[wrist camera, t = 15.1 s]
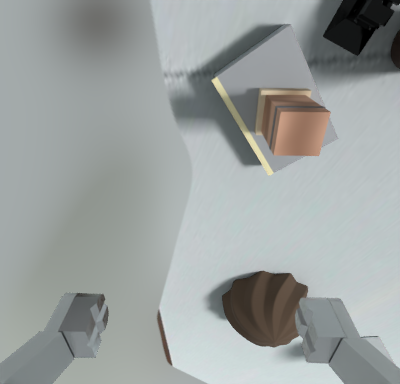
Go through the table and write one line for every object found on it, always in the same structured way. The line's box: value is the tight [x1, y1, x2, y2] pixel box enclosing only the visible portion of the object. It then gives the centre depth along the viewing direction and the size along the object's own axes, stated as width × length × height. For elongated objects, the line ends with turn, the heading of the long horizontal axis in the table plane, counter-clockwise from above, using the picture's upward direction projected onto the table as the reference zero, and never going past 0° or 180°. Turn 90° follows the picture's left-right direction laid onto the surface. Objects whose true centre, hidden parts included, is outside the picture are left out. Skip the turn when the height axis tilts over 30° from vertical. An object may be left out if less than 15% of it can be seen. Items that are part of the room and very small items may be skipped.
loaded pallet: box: [254, 88, 331, 156], centre depth 31 cm, size 6×6×9 cm
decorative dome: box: [222, 271, 308, 347], centre depth 56 cm, size 19×20×10 cm
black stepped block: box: [323, 0, 400, 56], centre depth 29 cm, size 12×7×5 cm, turn 158°
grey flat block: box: [211, 24, 338, 175], centre depth 36 cm, size 16×10×3 cm, turn 34°
